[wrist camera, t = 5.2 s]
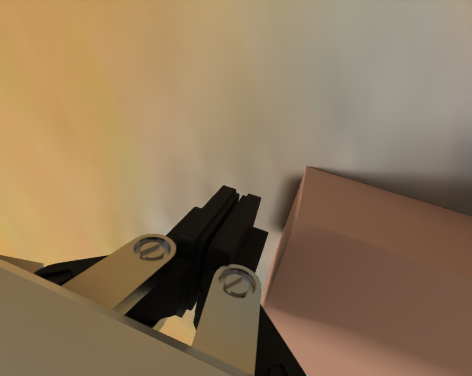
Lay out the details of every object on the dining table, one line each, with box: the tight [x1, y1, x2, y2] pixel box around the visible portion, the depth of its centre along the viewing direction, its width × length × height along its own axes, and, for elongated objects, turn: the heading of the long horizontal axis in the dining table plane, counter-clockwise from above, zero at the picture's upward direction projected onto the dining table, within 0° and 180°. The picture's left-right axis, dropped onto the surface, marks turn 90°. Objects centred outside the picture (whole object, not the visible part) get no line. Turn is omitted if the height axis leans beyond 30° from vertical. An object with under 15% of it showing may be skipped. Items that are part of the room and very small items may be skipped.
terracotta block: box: [260, 166, 472, 376], centre depth 10 cm, size 6×8×5 cm
